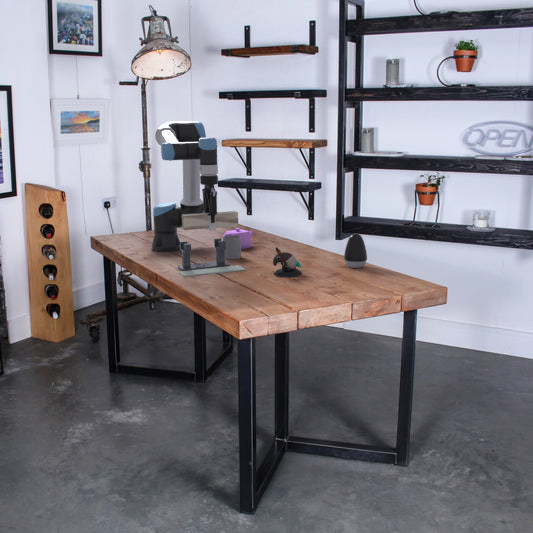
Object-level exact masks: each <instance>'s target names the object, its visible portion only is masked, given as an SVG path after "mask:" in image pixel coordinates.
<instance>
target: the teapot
mask: <svg viewBox="0 0 533 533" xmlns="http://www.w3.org/2000/svg"><path fill="white" fill-rule="evenodd" d="M253 233H254V230H250V231H249V230H246V229H241V228H240V227H235V229H232V230H226V231H225V233H223V234H222V238H223V237H224V236H229V235H237V236H240V237H241V250H245V249H250V248H252V245H253V244H252V237H253Z"/></svg>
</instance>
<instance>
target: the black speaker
mask: <svg viewBox="0 0 533 533" xmlns="http://www.w3.org/2000/svg"><path fill="white" fill-rule="evenodd" d="M346 242H347V243H346V246H345V250H344V253H343V260H344V263H345V265H346V266H347V267H348V268H352V269H361V268H363V267H364V266H365V265H366V263H367V261H368V253H367V248H366V244H365V241H364V238H363V236H362V235H361V234H360V233H353V234H351V235H350V236H349V238H348V240H347V241H346Z"/></svg>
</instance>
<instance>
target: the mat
mask: <svg viewBox="0 0 533 533" xmlns="http://www.w3.org/2000/svg"><path fill="white" fill-rule="evenodd" d="M242 271H243V272H245V271H246V268H244V267H243V266H241V265H230V266H227V267H218V268H208V269H198V270H189V271H181V270H179V271H178V274H179V275H180V276H182V277H183V278H187V277H196V276H206V275H213V274H224V273H232V272H242Z"/></svg>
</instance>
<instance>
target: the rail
mask: <svg viewBox="0 0 533 533" xmlns="http://www.w3.org/2000/svg"><path fill="white" fill-rule="evenodd" d="M208 214H209V213H200V214H186V215H182V228H181V229H182V230H184V231H190V230H202V229H203V230H204V229H206V228H209V216H208ZM215 223H216V228H229V227H238V226H239V211H236V210H232V211H231V210H230V211H228V210H227V211H217V214H216V215H215ZM206 230H207V229H206Z"/></svg>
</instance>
